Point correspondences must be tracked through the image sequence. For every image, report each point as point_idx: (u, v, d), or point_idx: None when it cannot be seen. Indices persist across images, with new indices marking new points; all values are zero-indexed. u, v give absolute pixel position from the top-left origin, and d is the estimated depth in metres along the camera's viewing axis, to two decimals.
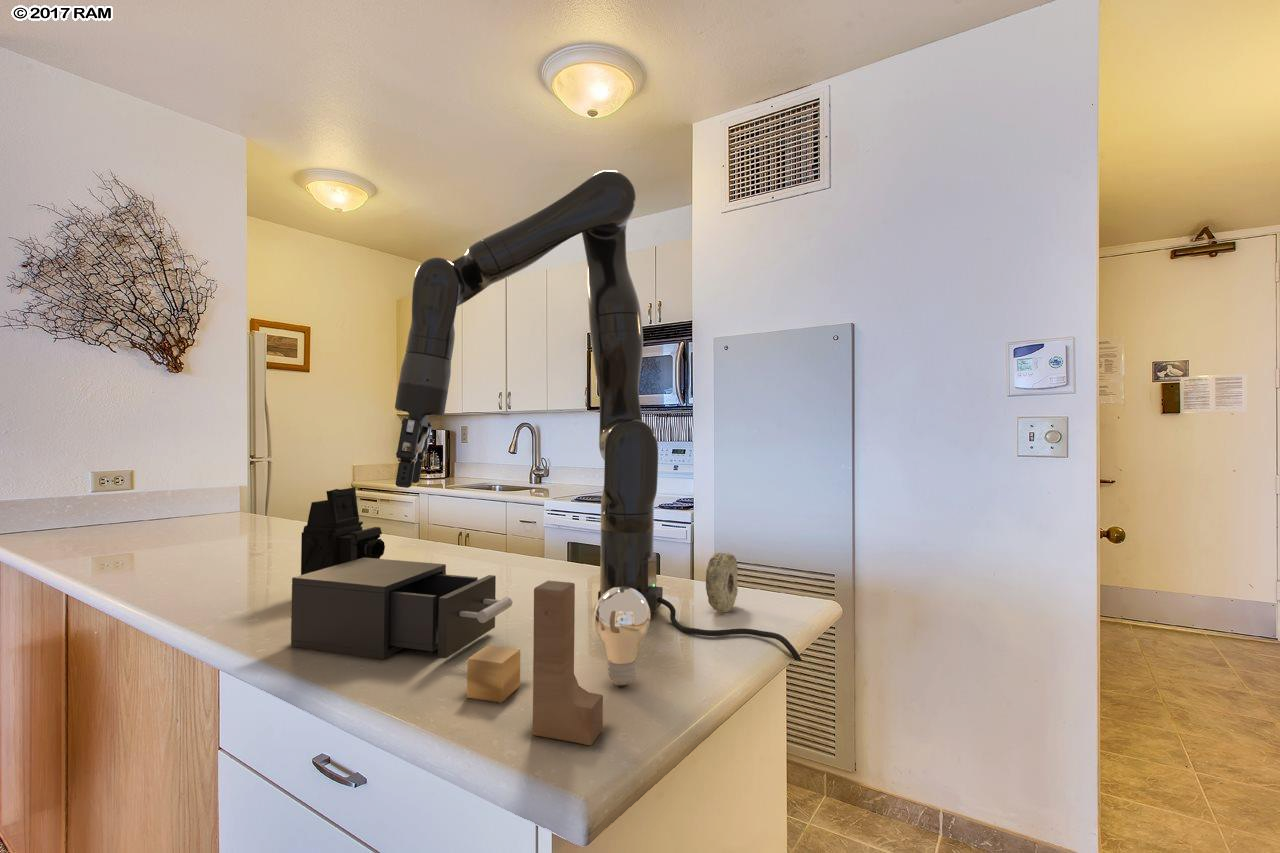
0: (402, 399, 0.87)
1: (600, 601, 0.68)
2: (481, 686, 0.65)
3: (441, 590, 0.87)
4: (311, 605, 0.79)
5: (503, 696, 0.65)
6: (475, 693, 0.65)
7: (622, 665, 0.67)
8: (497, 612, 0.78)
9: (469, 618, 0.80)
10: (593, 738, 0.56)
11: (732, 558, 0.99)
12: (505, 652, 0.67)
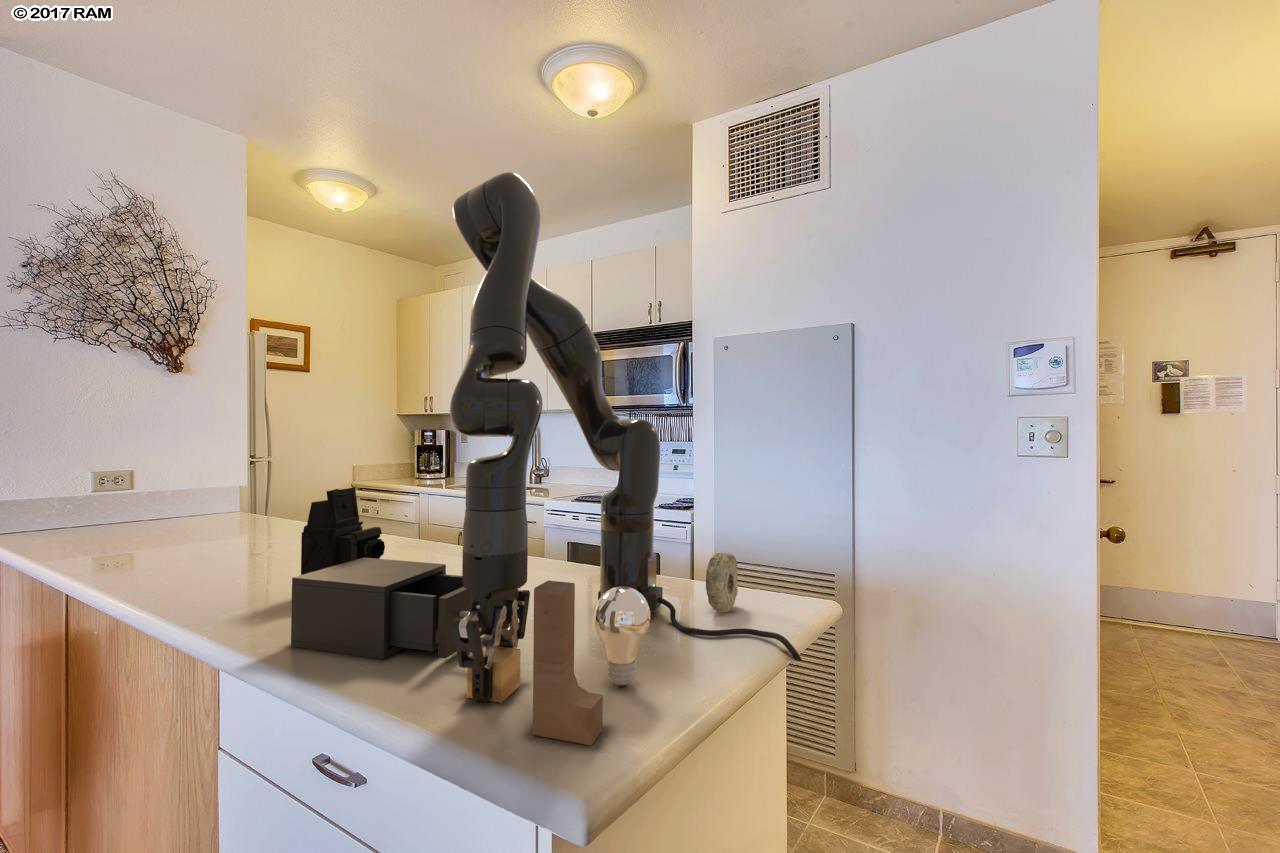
0: None
1: (600, 601, 0.68)
2: None
3: (441, 590, 0.87)
4: (311, 605, 0.79)
5: (503, 696, 0.65)
6: None
7: (622, 665, 0.67)
8: None
9: None
10: (593, 738, 0.56)
11: (732, 558, 0.99)
12: (505, 652, 0.67)
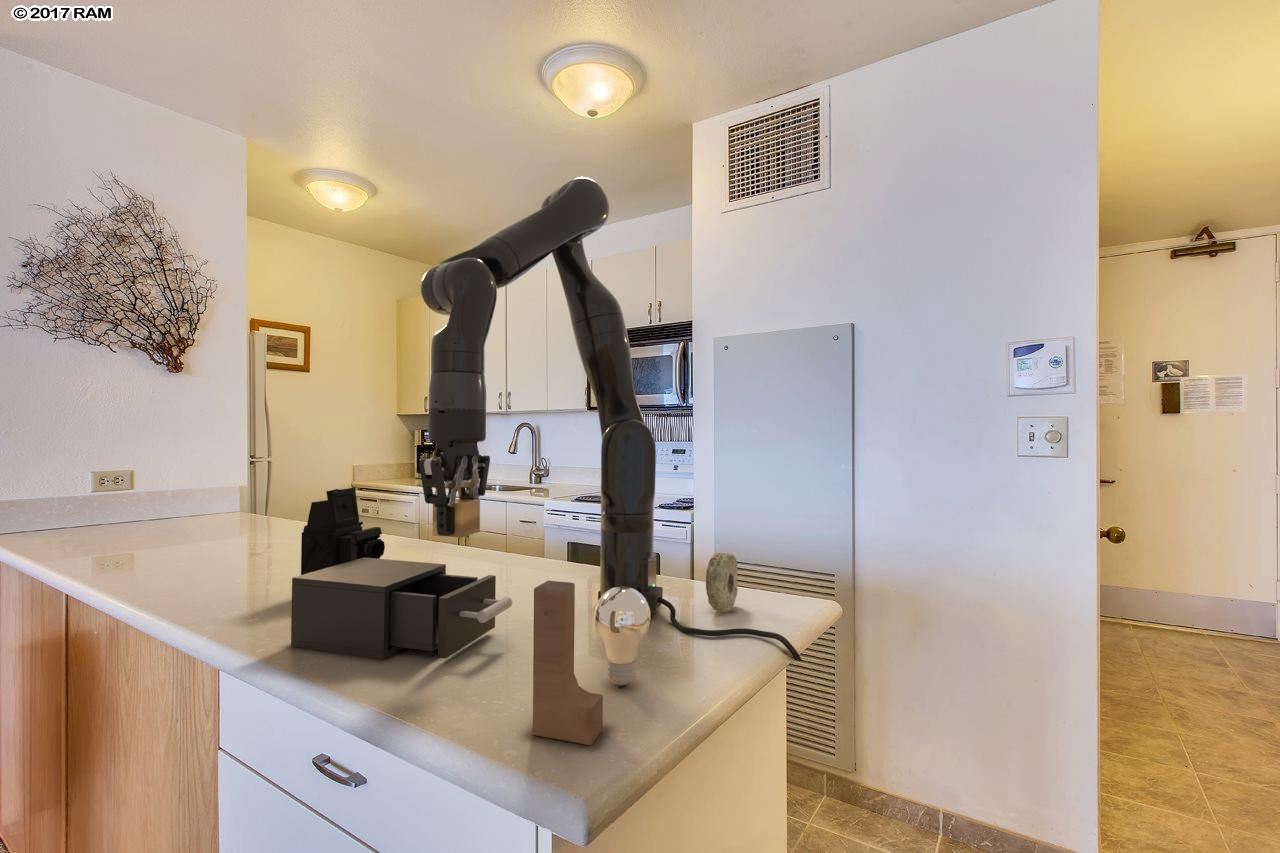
0: None
1: (600, 601, 0.68)
2: None
3: (441, 590, 0.87)
4: (311, 605, 0.79)
5: (464, 532, 0.75)
6: None
7: (622, 665, 0.67)
8: (497, 612, 0.78)
9: (469, 618, 0.80)
10: (593, 738, 0.56)
11: (732, 558, 0.99)
12: (466, 500, 0.78)
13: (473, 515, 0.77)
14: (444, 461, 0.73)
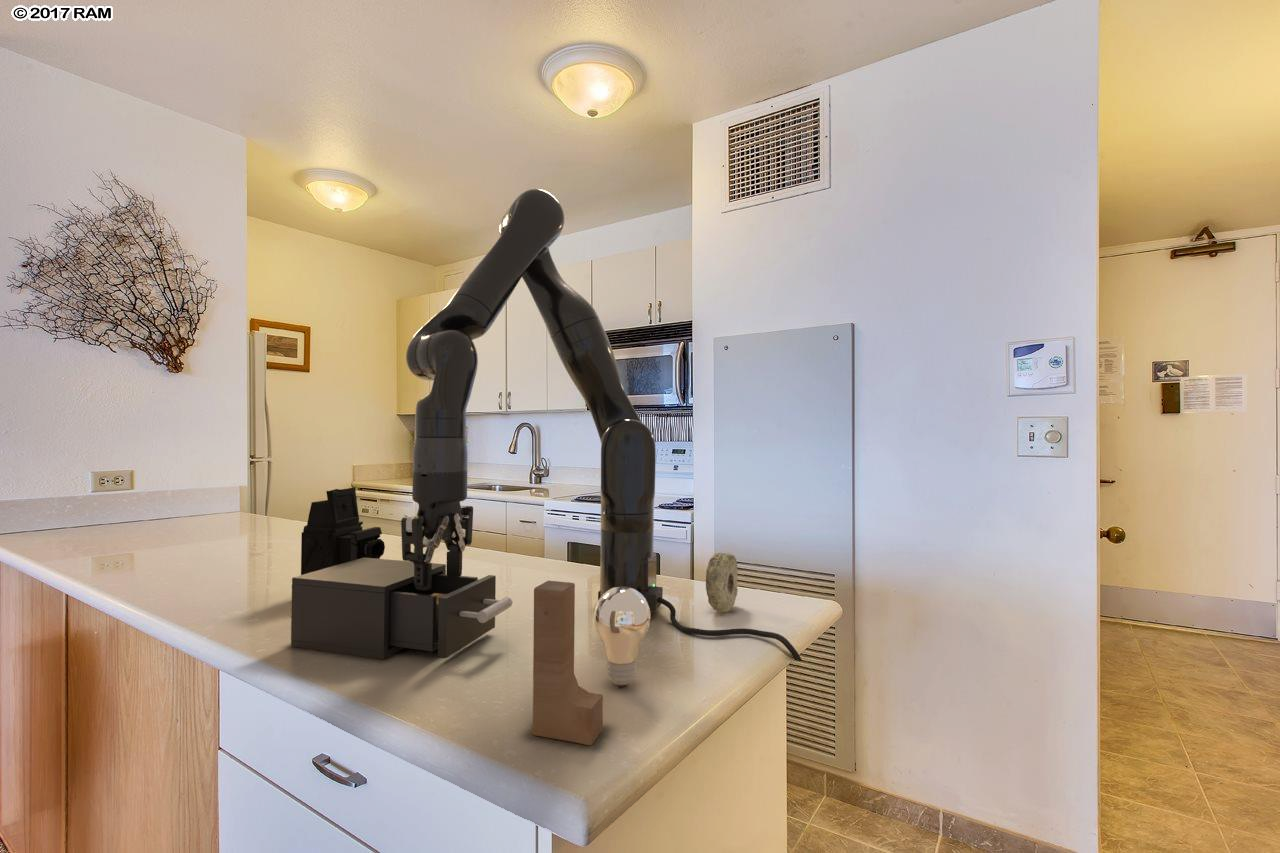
0: None
1: (600, 601, 0.68)
2: None
3: (441, 590, 0.87)
4: (311, 605, 0.79)
5: None
6: None
7: (622, 665, 0.67)
8: (497, 612, 0.78)
9: (469, 618, 0.80)
10: (593, 738, 0.56)
11: (732, 558, 0.99)
12: None
13: None
14: (426, 522, 0.78)
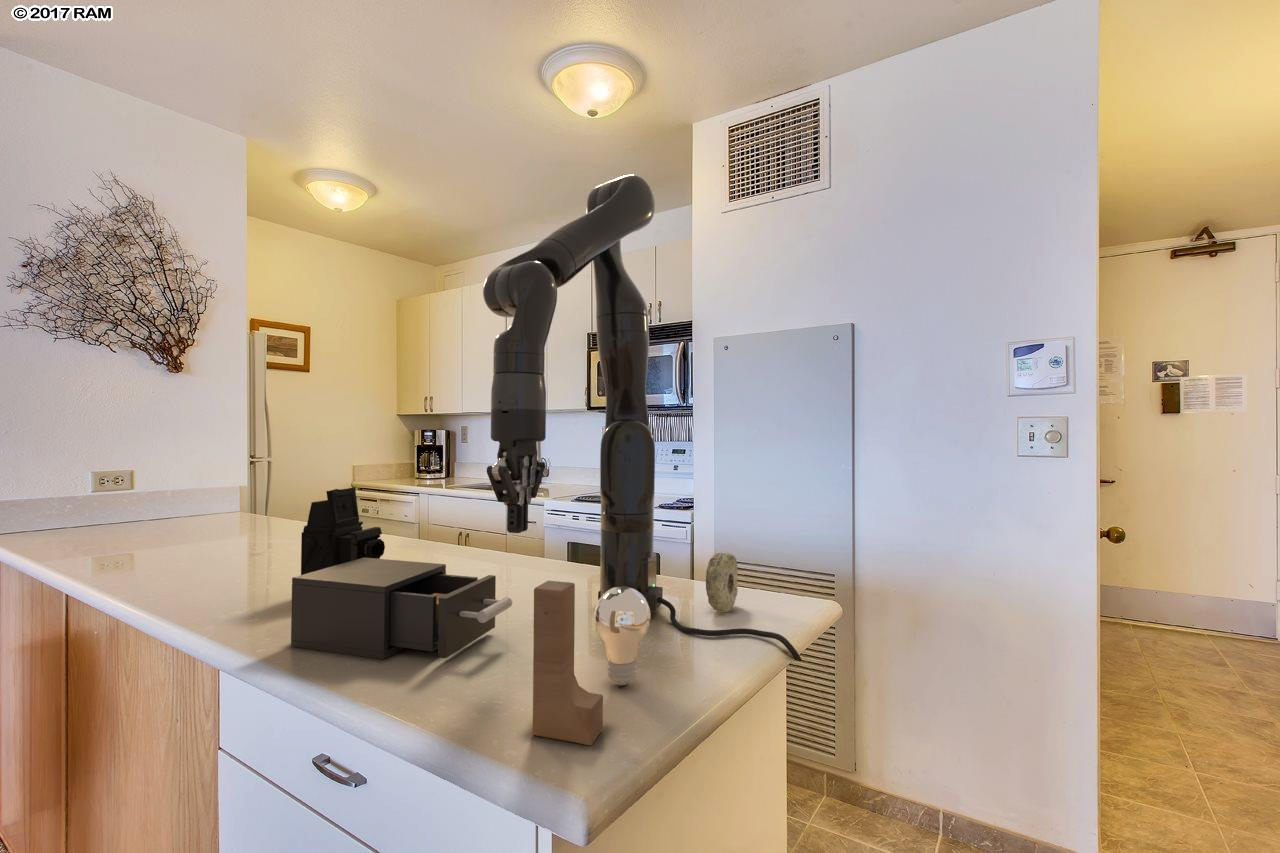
0: None
1: (600, 601, 0.68)
2: None
3: (441, 590, 0.87)
4: (311, 605, 0.79)
5: None
6: None
7: (622, 665, 0.67)
8: (497, 612, 0.78)
9: (469, 618, 0.80)
10: (593, 738, 0.56)
11: (732, 558, 0.99)
12: None
13: None
14: (508, 460, 0.75)
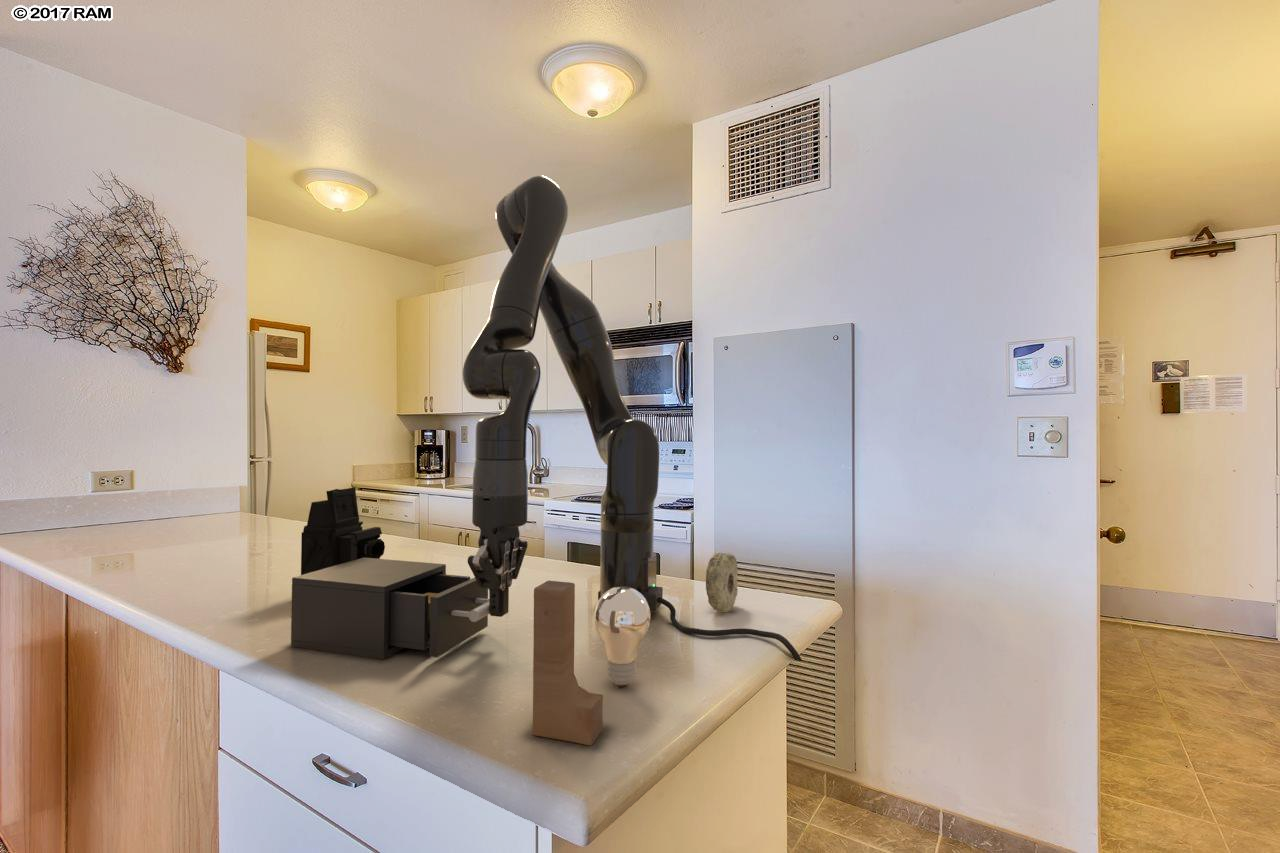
0: None
1: (600, 601, 0.68)
2: None
3: (434, 589, 0.87)
4: (311, 605, 0.79)
5: None
6: None
7: (622, 665, 0.67)
8: None
9: (461, 617, 0.80)
10: (593, 738, 0.56)
11: (732, 558, 0.99)
12: None
13: None
14: (489, 548, 0.75)
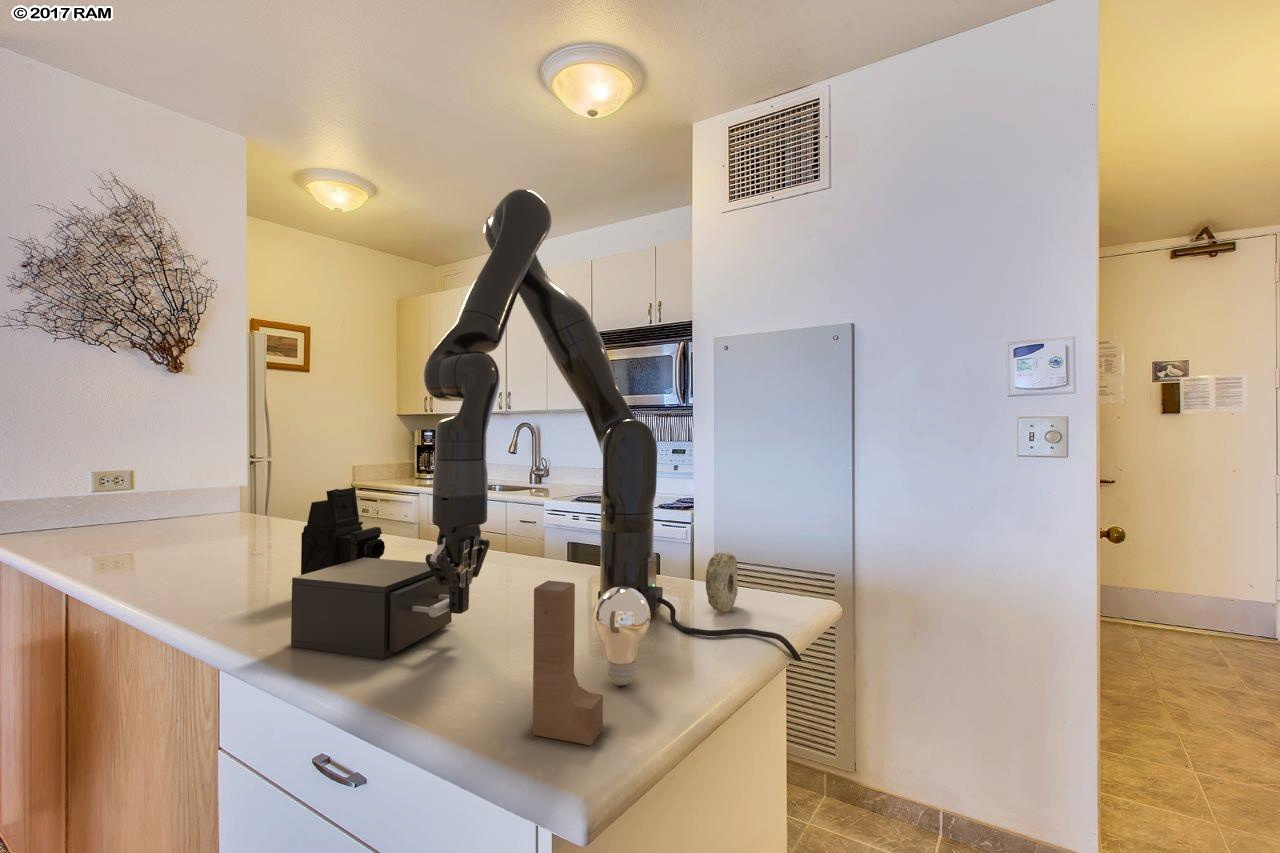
0: None
1: (600, 601, 0.68)
2: None
3: None
4: (311, 605, 0.79)
5: None
6: None
7: (622, 665, 0.67)
8: None
9: (422, 613, 0.82)
10: (593, 738, 0.56)
11: (732, 558, 0.99)
12: None
13: None
14: (447, 547, 0.77)
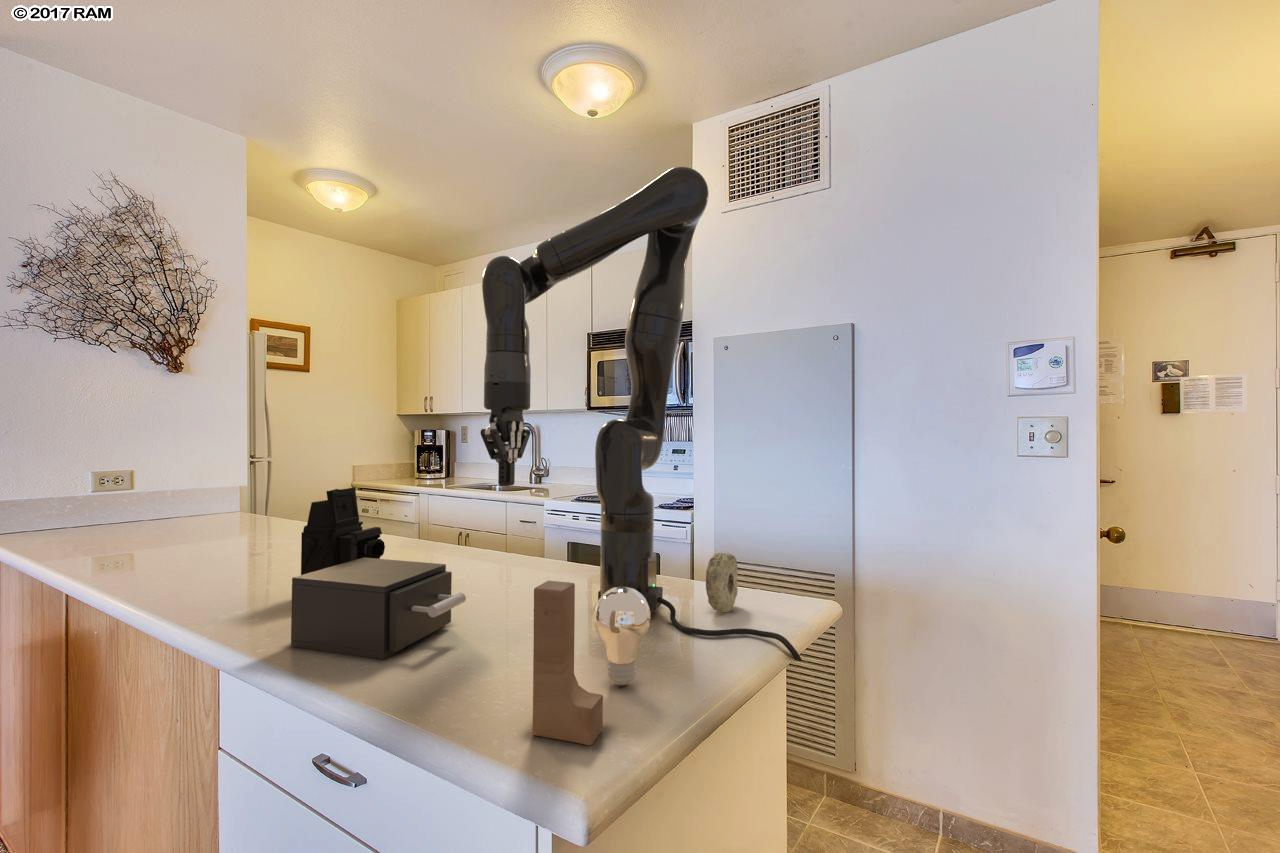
0: None
1: (600, 601, 0.68)
2: None
3: None
4: (311, 605, 0.79)
5: None
6: None
7: (622, 665, 0.67)
8: (449, 607, 0.80)
9: (422, 613, 0.82)
10: (593, 738, 0.56)
11: (732, 558, 0.99)
12: None
13: None
14: (498, 424, 0.90)
